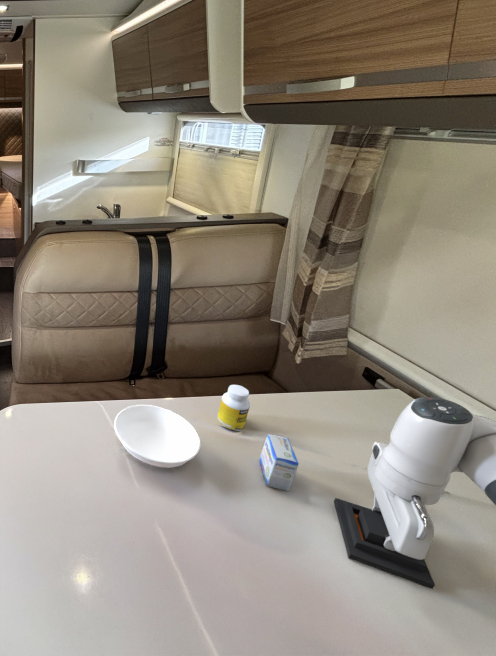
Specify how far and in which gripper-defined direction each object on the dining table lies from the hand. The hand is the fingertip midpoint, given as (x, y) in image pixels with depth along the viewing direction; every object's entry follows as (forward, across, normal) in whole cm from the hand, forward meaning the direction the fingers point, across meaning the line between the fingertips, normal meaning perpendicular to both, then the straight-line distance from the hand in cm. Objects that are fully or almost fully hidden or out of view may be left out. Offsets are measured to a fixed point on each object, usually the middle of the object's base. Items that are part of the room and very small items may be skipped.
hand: (382, 530), depth 83 cm
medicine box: (+3, +9, +17) cm, 19 cm away
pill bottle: (+3, +23, +26) cm, 35 cm away
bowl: (+3, +4, +43) cm, 43 cm away
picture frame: (+3, 0, 0) cm, 3 cm away
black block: (+2, 0, 0) cm, 2 cm away
